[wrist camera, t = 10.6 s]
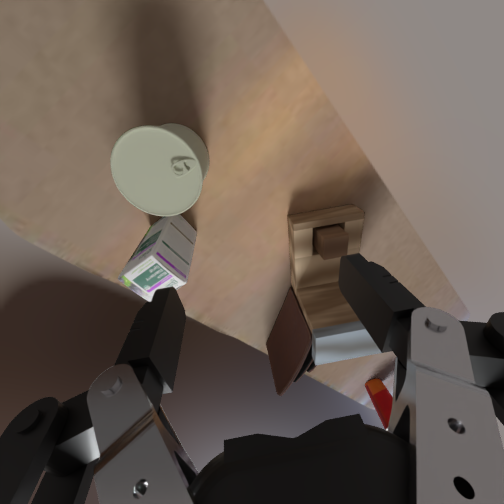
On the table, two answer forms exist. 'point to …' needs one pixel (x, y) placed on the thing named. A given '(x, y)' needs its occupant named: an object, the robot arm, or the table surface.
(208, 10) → the table surface
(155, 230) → the syrup box
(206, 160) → the can
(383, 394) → the paper cup
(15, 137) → the table surface
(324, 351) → the socket stand
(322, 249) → the peg
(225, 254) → the table surface
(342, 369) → the table surface
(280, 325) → the letter holder
